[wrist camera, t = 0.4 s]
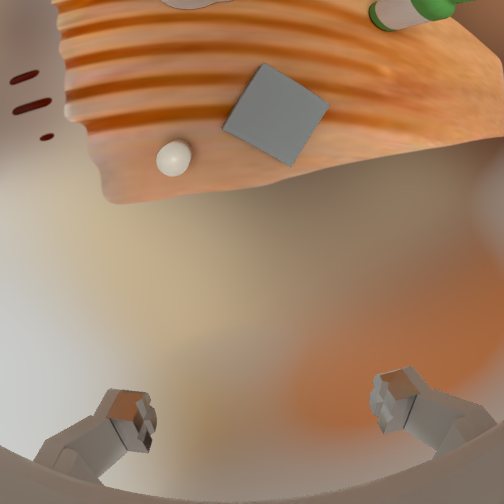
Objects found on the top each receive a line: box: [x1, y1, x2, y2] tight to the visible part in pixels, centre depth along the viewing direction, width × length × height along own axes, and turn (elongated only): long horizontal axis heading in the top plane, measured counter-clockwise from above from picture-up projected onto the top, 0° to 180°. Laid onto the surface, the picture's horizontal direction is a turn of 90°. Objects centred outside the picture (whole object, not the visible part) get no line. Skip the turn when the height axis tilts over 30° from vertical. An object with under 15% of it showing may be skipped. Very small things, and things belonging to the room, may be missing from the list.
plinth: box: [222, 63, 330, 167], centre depth 48 cm, size 14×14×5 cm
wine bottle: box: [369, 0, 474, 31], centre depth 27 cm, size 8×8×30 cm
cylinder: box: [156, 139, 192, 176], centre depth 48 cm, size 6×6×8 cm
